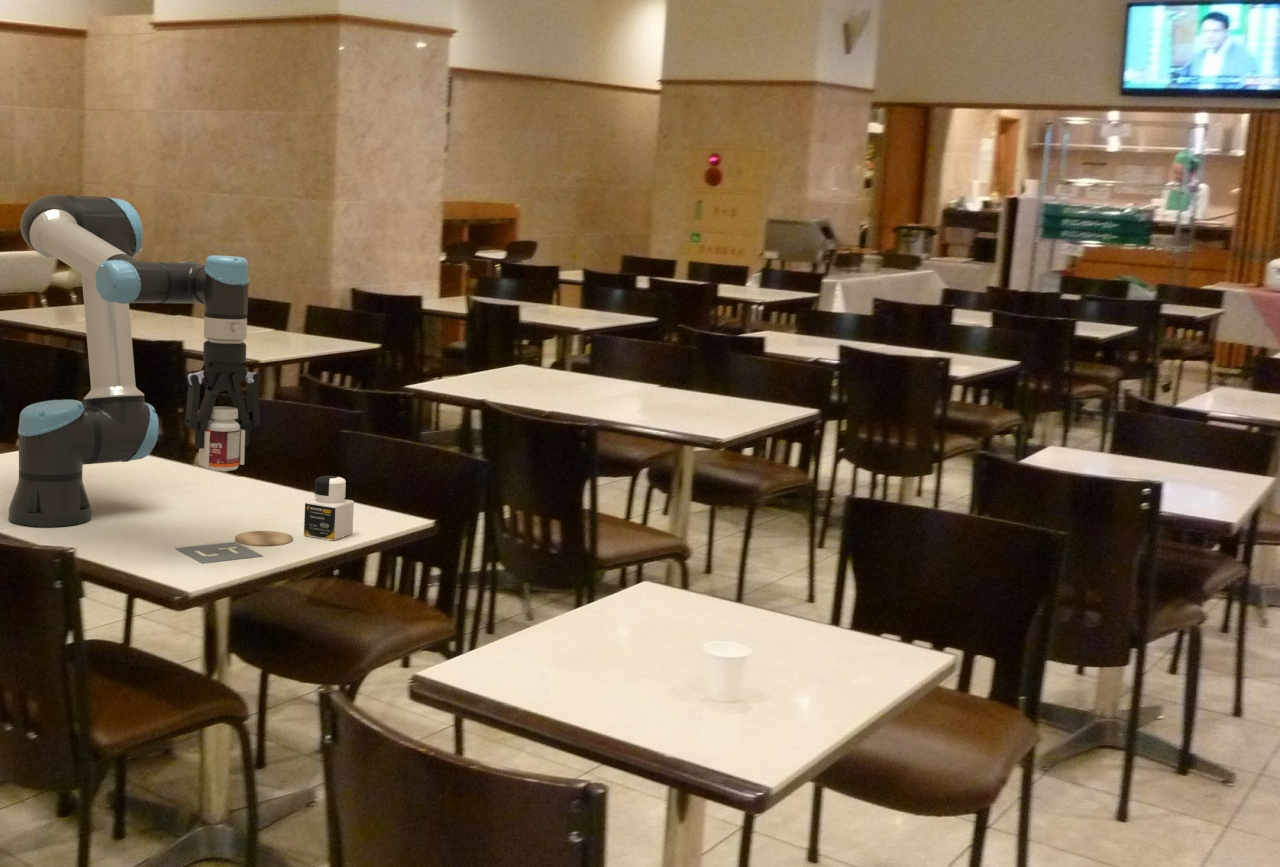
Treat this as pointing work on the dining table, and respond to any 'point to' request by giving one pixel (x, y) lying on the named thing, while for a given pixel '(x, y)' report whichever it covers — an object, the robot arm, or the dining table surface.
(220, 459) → the pill bottle
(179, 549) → the tile
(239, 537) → the coaster
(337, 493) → the medicine bottle
